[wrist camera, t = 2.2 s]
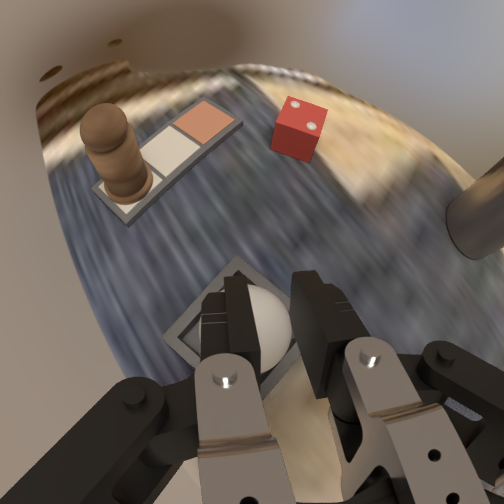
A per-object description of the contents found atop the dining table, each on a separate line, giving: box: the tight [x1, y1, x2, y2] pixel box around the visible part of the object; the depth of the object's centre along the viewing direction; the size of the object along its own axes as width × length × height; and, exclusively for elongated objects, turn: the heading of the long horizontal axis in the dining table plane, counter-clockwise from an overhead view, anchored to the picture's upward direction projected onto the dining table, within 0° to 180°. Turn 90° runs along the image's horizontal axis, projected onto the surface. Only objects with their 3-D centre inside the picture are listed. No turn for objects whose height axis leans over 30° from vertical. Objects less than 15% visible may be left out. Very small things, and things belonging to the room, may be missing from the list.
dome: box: [199, 284, 292, 373], centre depth 23 cm, size 7×7×8 cm
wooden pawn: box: [80, 103, 153, 205], centre depth 27 cm, size 6×6×12 cm
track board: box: [91, 97, 243, 227], centre depth 35 cm, size 19×7×1 cm, turn 140°
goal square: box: [173, 101, 235, 146], centre depth 36 cm, size 6×6×1 cm
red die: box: [270, 96, 328, 163], centre depth 35 cm, size 5×5×5 cm
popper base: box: [161, 255, 301, 400], centre depth 28 cm, size 10×10×4 cm
